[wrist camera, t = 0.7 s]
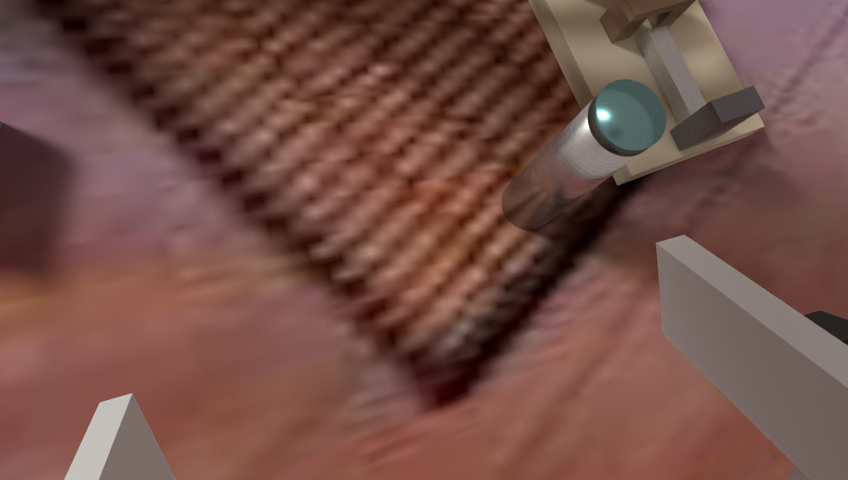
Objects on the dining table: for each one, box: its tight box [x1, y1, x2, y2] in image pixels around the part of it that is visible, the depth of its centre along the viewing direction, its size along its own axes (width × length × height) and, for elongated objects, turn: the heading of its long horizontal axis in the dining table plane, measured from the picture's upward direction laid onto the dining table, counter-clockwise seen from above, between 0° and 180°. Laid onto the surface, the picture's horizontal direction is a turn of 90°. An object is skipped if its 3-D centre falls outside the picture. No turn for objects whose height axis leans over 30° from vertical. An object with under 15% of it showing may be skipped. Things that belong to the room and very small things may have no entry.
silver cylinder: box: [502, 79, 666, 230], centre depth 38 cm, size 4×4×14 cm
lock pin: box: [637, 25, 765, 151], centre depth 44 cm, size 9×4×5 cm, turn 23°
